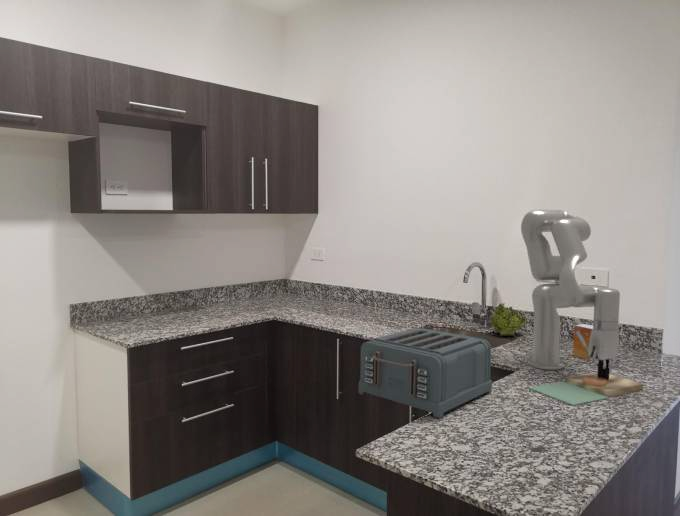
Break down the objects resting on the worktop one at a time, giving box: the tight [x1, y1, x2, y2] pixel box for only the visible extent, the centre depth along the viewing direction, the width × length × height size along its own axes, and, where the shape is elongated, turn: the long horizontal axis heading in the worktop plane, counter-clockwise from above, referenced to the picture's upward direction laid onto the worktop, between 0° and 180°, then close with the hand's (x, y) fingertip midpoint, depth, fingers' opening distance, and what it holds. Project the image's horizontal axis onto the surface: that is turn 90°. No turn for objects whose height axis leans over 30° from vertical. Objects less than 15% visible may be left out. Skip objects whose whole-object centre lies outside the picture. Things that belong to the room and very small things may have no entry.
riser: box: [564, 371, 644, 398], centre depth 184 cm, size 16×18×2 cm
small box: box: [572, 323, 593, 361], centre depth 221 cm, size 8×6×13 cm
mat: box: [528, 381, 610, 407], centre depth 176 cm, size 18×16×1 cm
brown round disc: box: [583, 376, 607, 387], centre depth 181 cm, size 7×7×2 cm
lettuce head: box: [490, 302, 527, 337], centre depth 258 cm, size 18×16×16 cm
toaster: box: [357, 327, 493, 419], centre depth 174 cm, size 31×36×18 cm
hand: (603, 378), depth 183 cm, fingers closed
